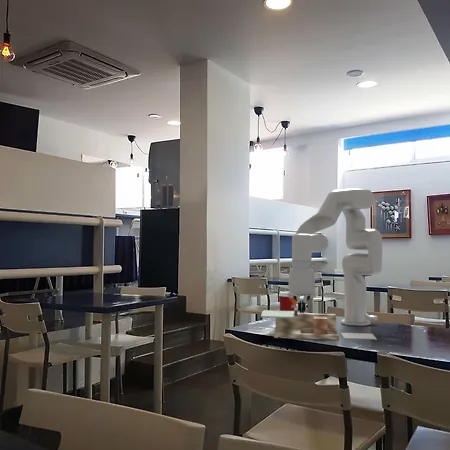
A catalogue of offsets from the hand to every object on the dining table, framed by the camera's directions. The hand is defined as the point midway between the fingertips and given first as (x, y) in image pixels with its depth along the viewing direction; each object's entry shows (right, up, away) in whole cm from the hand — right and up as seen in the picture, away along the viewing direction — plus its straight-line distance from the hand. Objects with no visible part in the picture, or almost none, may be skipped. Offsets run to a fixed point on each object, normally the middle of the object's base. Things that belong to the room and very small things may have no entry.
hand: (301, 312), depth 182 cm
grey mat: (+22, -9, -1) cm, 24 cm away
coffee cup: (-3, -10, +19) cm, 22 cm away
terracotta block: (+7, -9, -1) cm, 11 cm away
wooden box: (+2, -9, +1) cm, 10 cm away
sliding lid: (-8, -1, +3) cm, 9 cm away
